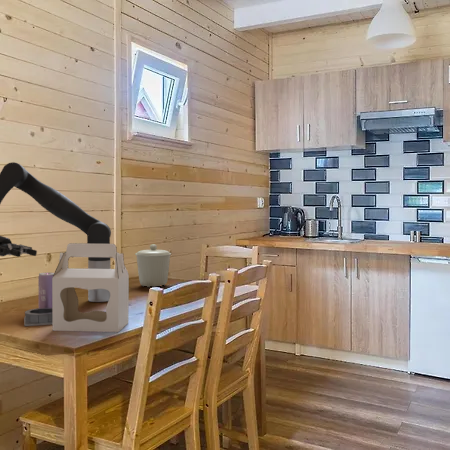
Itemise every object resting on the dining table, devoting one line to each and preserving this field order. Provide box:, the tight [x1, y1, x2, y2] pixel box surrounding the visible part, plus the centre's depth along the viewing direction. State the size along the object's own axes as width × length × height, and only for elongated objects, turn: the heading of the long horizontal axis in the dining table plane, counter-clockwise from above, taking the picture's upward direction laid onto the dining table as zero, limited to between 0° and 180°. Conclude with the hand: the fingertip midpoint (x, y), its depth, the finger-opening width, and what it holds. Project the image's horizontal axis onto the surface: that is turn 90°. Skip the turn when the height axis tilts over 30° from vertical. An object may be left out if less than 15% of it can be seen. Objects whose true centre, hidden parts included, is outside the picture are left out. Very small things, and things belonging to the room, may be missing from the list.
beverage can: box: [37, 272, 55, 308], centre depth 196 cm, size 6×6×15 cm
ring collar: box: [23, 307, 53, 327], centre depth 183 cm, size 12×12×4 cm
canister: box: [134, 243, 172, 288], centre depth 264 cm, size 18×18×21 cm
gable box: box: [52, 242, 130, 333], centre depth 175 cm, size 22×13×28 cm, turn 87°
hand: (28, 253), depth 200 cm, fingers open, 8 cm apart
